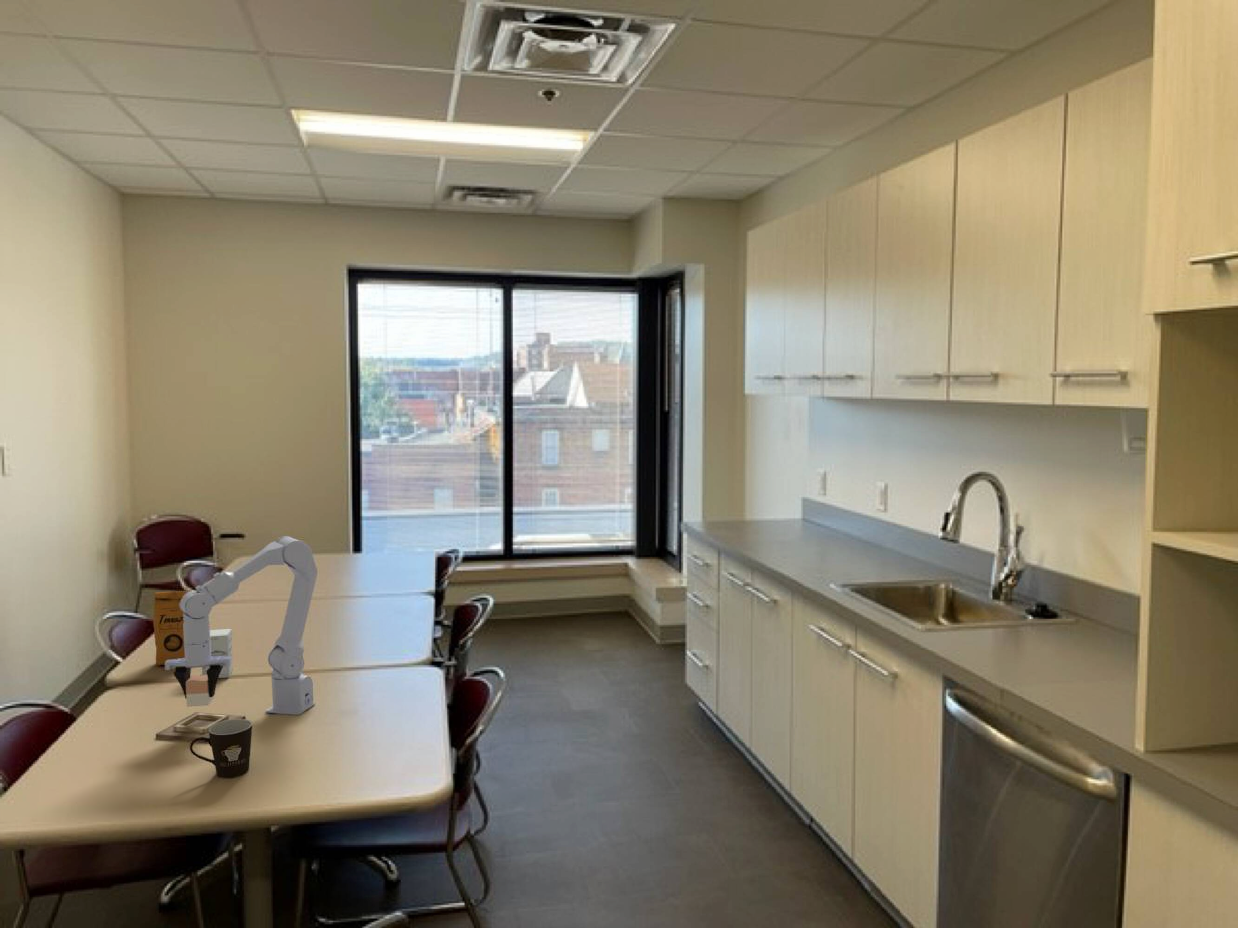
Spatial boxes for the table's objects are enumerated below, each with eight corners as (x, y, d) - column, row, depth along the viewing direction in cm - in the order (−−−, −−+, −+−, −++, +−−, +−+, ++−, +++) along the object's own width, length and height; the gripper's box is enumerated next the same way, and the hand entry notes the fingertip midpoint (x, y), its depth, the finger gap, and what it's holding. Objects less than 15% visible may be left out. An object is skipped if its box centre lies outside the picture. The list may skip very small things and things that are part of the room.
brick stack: (214, 698, 213) (213, 674, 213) (208, 705, 208) (207, 680, 208) (193, 699, 212) (192, 675, 212) (186, 706, 208) (185, 682, 207)
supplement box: (201, 680, 246) (199, 636, 245) (206, 672, 253) (204, 629, 252) (229, 677, 248) (227, 634, 247) (234, 669, 255) (231, 627, 254)
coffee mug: (260, 762, 192) (258, 718, 191) (245, 780, 183) (243, 734, 182) (207, 763, 191) (204, 719, 190) (189, 781, 183) (186, 735, 182)
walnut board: (245, 719, 216) (245, 712, 216) (208, 742, 203) (207, 734, 202) (195, 715, 219) (195, 708, 219) (155, 737, 205) (155, 729, 205)
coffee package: (195, 666, 258) (191, 594, 256) (150, 668, 256) (146, 595, 254) (206, 656, 268) (203, 586, 266) (164, 658, 266) (160, 587, 264)
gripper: (233, 635, 214) (236, 688, 215) (170, 638, 212) (173, 692, 213) (225, 643, 207) (228, 698, 208) (160, 646, 205) (163, 702, 206)
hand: (200, 696), depth 210 cm, fingers closed on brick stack, 5 cm apart
